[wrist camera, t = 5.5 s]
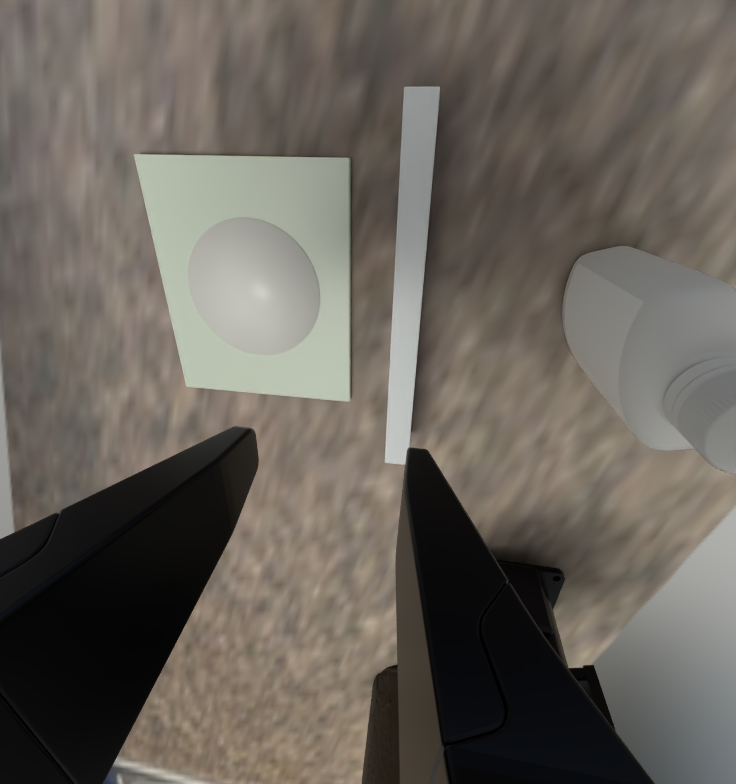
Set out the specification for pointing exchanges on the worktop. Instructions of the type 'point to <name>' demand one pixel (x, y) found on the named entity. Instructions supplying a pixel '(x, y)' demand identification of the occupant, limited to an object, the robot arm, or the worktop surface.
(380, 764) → the pillar candle
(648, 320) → the eye dropper bottle
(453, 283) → the worktop surface
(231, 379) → the pad
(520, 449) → the worktop surface
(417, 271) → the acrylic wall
